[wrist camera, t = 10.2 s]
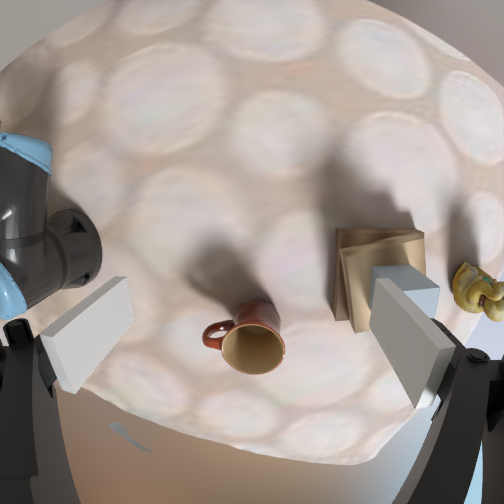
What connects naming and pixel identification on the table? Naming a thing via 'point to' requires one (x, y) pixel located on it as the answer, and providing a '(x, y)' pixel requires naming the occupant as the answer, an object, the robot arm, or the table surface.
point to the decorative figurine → (478, 292)
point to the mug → (249, 338)
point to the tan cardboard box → (342, 241)
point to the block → (408, 286)
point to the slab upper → (376, 254)
